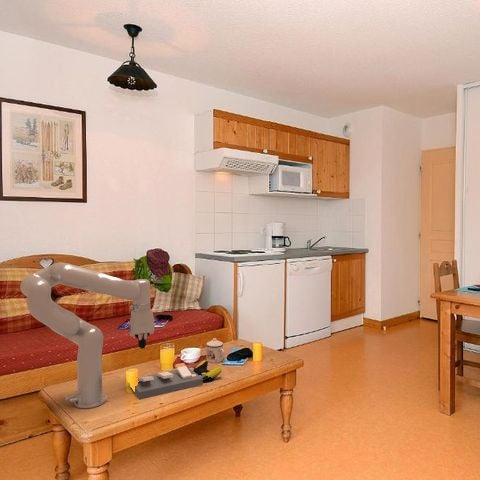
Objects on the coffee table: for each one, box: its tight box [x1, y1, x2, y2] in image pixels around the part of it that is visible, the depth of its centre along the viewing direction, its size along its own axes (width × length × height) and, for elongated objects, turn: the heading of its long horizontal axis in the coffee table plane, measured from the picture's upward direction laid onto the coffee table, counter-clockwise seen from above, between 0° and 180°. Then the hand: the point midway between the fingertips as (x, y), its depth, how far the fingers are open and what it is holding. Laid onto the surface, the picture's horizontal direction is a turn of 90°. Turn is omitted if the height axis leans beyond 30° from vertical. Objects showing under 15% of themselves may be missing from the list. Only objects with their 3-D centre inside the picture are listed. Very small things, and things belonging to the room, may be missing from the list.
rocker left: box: [137, 375, 154, 382], centre depth 178 cm, size 4×10×1 cm, turn 31°
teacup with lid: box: [205, 337, 226, 364], centre depth 215 cm, size 12×9×12 cm
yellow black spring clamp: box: [191, 359, 222, 379], centre depth 194 cm, size 15×6×10 cm
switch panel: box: [134, 367, 204, 400], centre depth 183 cm, size 29×16×4 cm, turn 121°
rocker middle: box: [155, 370, 173, 379], centre depth 182 cm, size 4×10×1 cm, turn 31°
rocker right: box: [174, 362, 192, 379], centre depth 187 cm, size 4×10×1 cm, turn 31°
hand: (142, 347), depth 181 cm, fingers closed
